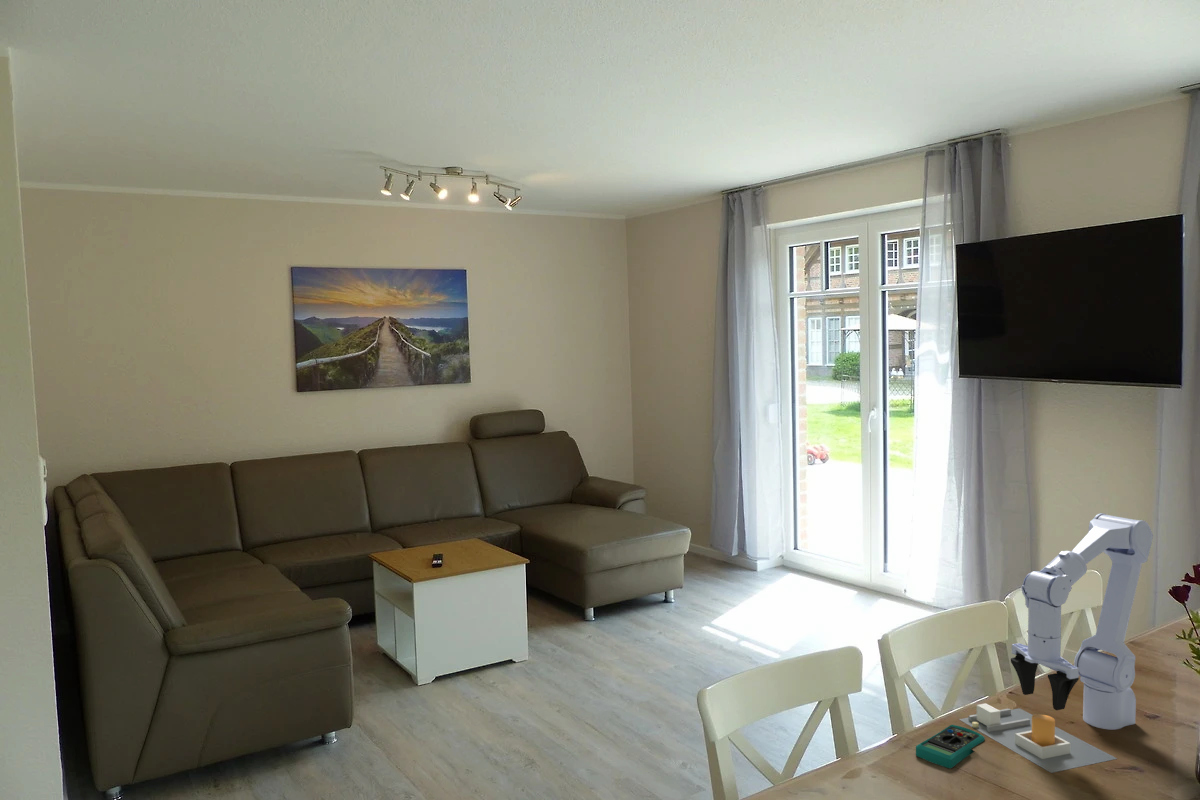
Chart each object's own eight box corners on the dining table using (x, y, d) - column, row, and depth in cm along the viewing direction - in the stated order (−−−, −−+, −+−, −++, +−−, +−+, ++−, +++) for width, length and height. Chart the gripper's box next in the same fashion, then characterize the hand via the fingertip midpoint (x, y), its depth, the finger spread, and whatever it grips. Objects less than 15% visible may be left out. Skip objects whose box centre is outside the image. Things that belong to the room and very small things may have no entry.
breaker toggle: (985, 718, 181) (985, 703, 180) (1000, 726, 177) (1000, 710, 177) (976, 719, 180) (976, 704, 180) (990, 727, 176) (990, 712, 176)
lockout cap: (1043, 742, 170) (1043, 713, 170) (1059, 751, 166) (1059, 721, 166) (1026, 745, 169) (1027, 715, 168) (1042, 754, 165) (1042, 724, 165)
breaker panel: (1019, 713, 186) (1019, 699, 186) (1117, 764, 163) (1117, 748, 163) (958, 724, 181) (958, 710, 181) (1051, 779, 158) (1051, 762, 158)
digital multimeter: (986, 747, 172) (986, 732, 172) (950, 772, 162) (950, 756, 162) (951, 735, 178) (951, 721, 177) (914, 758, 168) (914, 743, 168)
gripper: (999, 624, 174) (999, 690, 175) (1058, 648, 160) (1057, 719, 161) (1027, 620, 176) (1026, 685, 177) (1087, 643, 163) (1086, 713, 164)
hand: (1043, 701), depth 170 cm, fingers open, 7 cm apart
